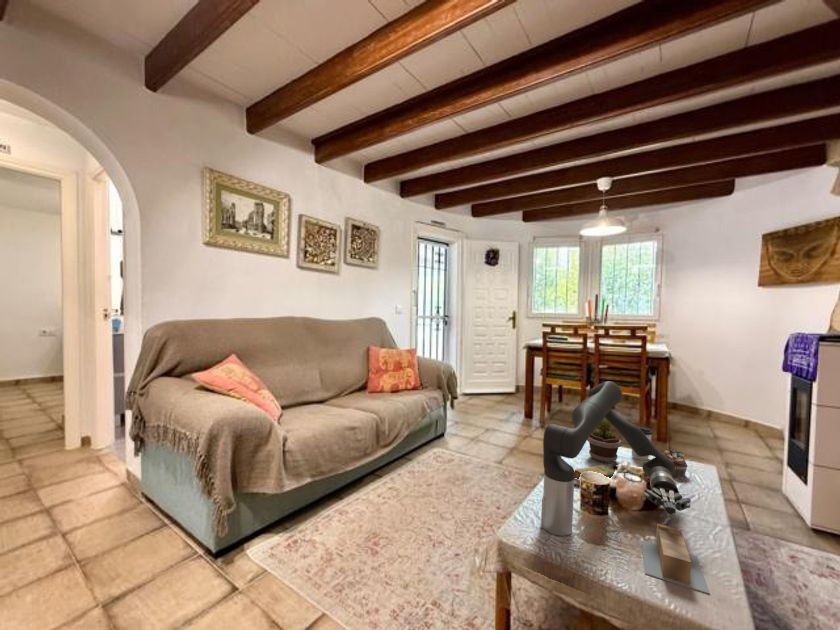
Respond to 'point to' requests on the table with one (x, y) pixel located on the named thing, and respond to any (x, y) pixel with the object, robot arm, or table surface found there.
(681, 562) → the walnut block
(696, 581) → the slate mat
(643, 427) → the coffee cup
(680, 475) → the cupcake
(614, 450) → the flowerpot
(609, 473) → the carton
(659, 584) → the table surface
